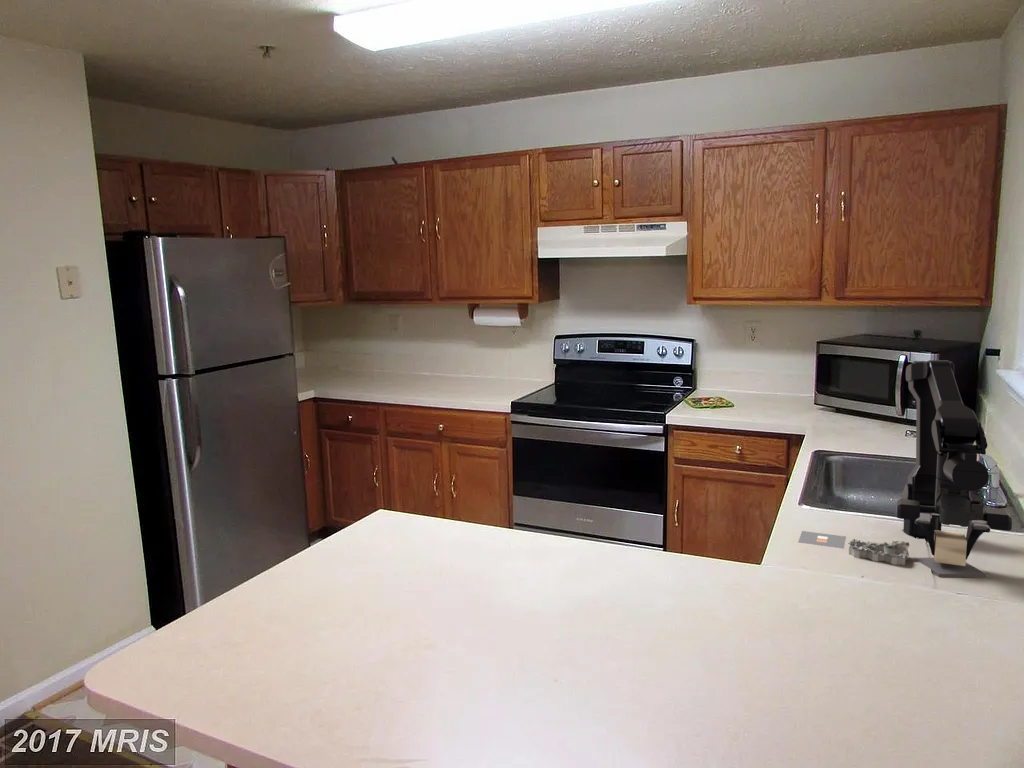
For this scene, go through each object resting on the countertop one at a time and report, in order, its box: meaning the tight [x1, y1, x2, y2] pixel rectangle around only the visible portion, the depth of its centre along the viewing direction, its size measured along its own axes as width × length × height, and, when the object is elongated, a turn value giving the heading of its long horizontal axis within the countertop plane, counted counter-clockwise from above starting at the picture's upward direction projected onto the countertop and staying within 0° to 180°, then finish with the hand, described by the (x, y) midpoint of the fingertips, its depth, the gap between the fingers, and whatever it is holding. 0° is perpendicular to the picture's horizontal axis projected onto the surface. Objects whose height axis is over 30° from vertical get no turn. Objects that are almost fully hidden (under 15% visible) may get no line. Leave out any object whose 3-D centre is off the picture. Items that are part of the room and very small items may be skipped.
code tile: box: [797, 530, 847, 549], centre depth 153 cm, size 9×9×1 cm
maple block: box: [932, 530, 967, 566], centre depth 136 cm, size 5×5×5 cm
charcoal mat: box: [913, 557, 988, 578], centre depth 137 cm, size 9×9×1 cm
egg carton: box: [848, 538, 910, 566], centre depth 142 cm, size 11×8×4 cm
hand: (949, 556), depth 137 cm, fingers closed on maple block, 5 cm apart
